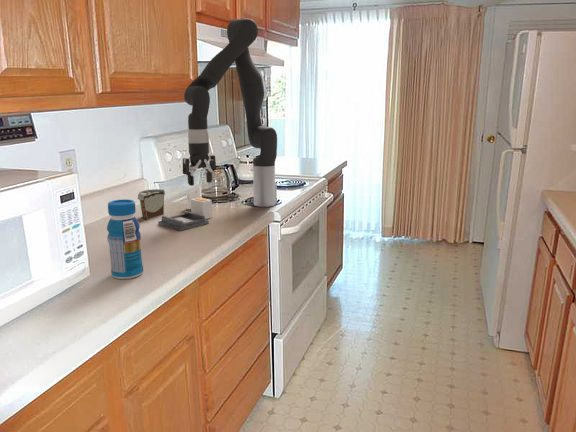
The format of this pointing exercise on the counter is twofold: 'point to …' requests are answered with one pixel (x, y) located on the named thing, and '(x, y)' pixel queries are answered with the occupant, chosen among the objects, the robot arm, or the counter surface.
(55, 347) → the counter surface
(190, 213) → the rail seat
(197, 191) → the white wedge bracket
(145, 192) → the food container
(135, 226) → the beverage bottle
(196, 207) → the block
